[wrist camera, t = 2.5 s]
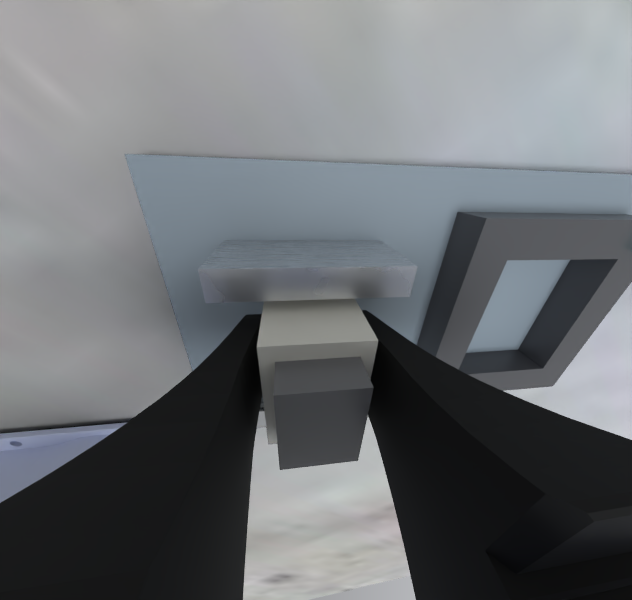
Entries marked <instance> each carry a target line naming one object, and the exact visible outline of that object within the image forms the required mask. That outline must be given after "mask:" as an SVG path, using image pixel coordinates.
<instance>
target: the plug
mask: <svg viewBox="0 0 632 600" xmlns="http://www.w3.org/2000/svg"><path fill="white" fill-rule="evenodd" d="M377 345H378V339H377V337H376V335H375V333H374V332H373V330H372V328H371V326H370V325H369V323H368V321H367V319H366V317H365V316H364V314H363V312H362V310H361V309H360V307H359V305H358V303H357V302H356V300H355V299H326V300H294V301H264V304H263V311H262V317H261V323H260V329H259V336H258V342H257V354H258V362H259V370H260V379H261V387H262V395H263V403H264V412H265V420H266V428H267V436H268V444H277V443H278V454H279V466H280V470H283V469H291V468H300V467H308V466H316V465H325V464H333V463H342V462H350V461H358V457H359V453H360V448H361V444H362V439H363V434H364V430H365V425H366V420H367V416H368V411H369V407H370V402H371V397H372V393H373V388H374V387H373V385H372V383H371V375H372V370H373V365H374V360H375V355H376V350H377Z"/></svg>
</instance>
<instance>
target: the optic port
mask: <svg viewBox="0 0 632 600" xmlns="http://www.w3.org/2000/svg"><path fill="white" fill-rule="evenodd" d="M507 260H570V261H569V263H568V265H567V266H566V268H565V270H564V272H563V273H562V275H561V277H560V278H559V280H558V282H557V283H556V285H555V287H554V289H553V290H552V292H551V294H550V295H549V297H548V299H547V301H546V302H545V304H544V306H543V307H542V309H541V311H540V313H539V314H538V316H537V318H536V319H535V321H534V323H533V325H532V326H531V328H530V330H529V331H528V333H527V335H526V337H525V338H524V340H523V342H522V343H521V345H520V347H519V349H518V350H504V351H488V352H473V353H466V352H467V349H468V347H469V345H470V343H471V341H472V338H473V336H474V334H475V332H476V329H477V327H478V325H479V323H480V320H481V318H482V316H483V314H484V311H485V309H486V307H487V305H488V303H489V300H490V298H491V296H492V294H493V291H494V289H495V287H496V285H497V282H498V280H499V278H500V276H501V274H502V271H503V269H504V267H505V265H506V262H507ZM631 282H632V215H627V214H569V213H504V212H457V215H456V218H455V222H454V225H453V228H452V231H451V235H450V238H449V241H448V244H447V248H446V251H445V254H444V257H443V261H442V264H441V267H440V271H439V274H438V277H437V280H436V284H435V287H434V290H433V293H432V297H431V300H430V303H429V306H428V310H427V313H426V316H425V319H424V323H423V326H422V329H421V333H420V336H419V339H418V342H417V346H419V347H420V348H422V349H423V350H425V351H427V352H428V353H430V354H431V355H433V356H435V357H437V358H438V359H440V360H442V361H443V362H445V363H447V364H449V365H451V366H453V367H455V368H456V369H458V370H460V371H462V372H464V373H466V374H468V375H470V376H472V377H474V378H476V379H478V380H480V381H482V382H484V383H486V384H489V385H491V386H493V387H495V388H497V389H499V390H502V391H504V390H515V389H526V388H538V387H549V386H553V385H554V384H555V383H556V381H557V380H558V379H559V377H560V376H561V375H562V373H563V372H564V371H565V369H566V368H567V367H568V365H569V364H570V363H571V361H572V360H573V359H574V357H575V356H576V355H577V353H578V352H579V351H580V349H581V348H582V347H583V345H584V344H585V343H586V342H587V340H588V339H589V338H590V336H591V335H592V334H593V332H594V331H595V330H596V328H597V327H598V326H599V324H600V323H601V322H602V320H603V319H604V318H605V316H606V315H607V314H608V312H609V311H610V310H611V308H612V307H613V306H614V304H615V303H616V302H617V300H618V299H619V298H620V296H621V295H622V294H623V292H624V291H625V290H626V288H627V287H628V286H629V284H630V283H631Z"/></svg>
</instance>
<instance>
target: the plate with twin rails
mask: <svg viewBox="0 0 632 600" xmlns="http://www.w3.org/2000/svg"><path fill="white" fill-rule="evenodd" d="M417 267H418V266H417V265H415V264H414V263H413V262H411V261H410V260H408V259H407V258H405V257H404V256H402V255H401V254H400V253H398V252H397V251H395V250H394V249H392V248H391V247H389V246H388V245H387V244H385V243H384V242H382V241H381V240H224V241H223V242H222V243H221V244H220V245H219V246H218V248H217V249H216V250H215V251H214V252H213V253H212V254H211V255H210V256H209V257H208V259H207V260H206V261H205V262H204V263H203V264H202V265H201V266H200V267H199V269H198V273H199V277H200V281H201V286H202V290H203V294H204V299H205V303H232V302H263V301H294V300H326V299H357V298H388V297H410V294H411V290H412V286H413V282H414V279H415V275H416V271H417ZM367 417H369V416H367ZM261 427H266V420H265V412H264V403H263V395H262V399H261V405H260V411H259V417H258V422H257V428H261Z"/></svg>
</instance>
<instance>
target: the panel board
mask: <svg viewBox="0 0 632 600" xmlns="http://www.w3.org/2000/svg"><path fill="white" fill-rule="evenodd" d="M125 157H126V160H127V163H128V167H129V170H130V173H131V176H132V179H133V183H134V186H135V189H136V192H137V195H138V198H139V202H140V205H141V208H142V211H143V214H144V218H145V221H146V224H147V227H148V230H149V234H150V237H151V240H152V243H153V246H154V249H155V253H156V256H157V259H158V262H159V265H160V269H161V272H162V275H163V278H164V281H165V285H166V288H167V291H168V294H169V297H170V301H171V304H172V307H173V310H174V313H175V316H176V320H177V323H178V326H179V329H180V332H181V336H182V339H183V342H184V345H185V348H186V352H187V355H188V358H189V361H190V364H191V368H192V371H194V370H195V369H196V368H197V367H198V366H199V365H200V364H201V363H202V362H203V361H204V360H205V359H206V358H207V357H208V356H209V355H210V354H211V353H212V352H213V351H214V350H215V349H216V348H217V347H218V346H219V345H220V343H221V342H222V341H223V340H224V339H225V338H226V337H227V336H228V335H229V333H230V332H231V331H232V330H233V329H234V328H235V327H236V325H237V324H238V323H239V322H240V321H241V319H242V318H243V317H244V316H245V315H249V314H262V311H263V304H264V301H263V302H232V303H205V299H204V294H203V290H202V286H201V281H200V277H199V273H198V269H199V267H200V266H201V265H202V264H203V263H204V262H205V261H206V260H207V259H208V257H209V256H210V255H211V254H212V253H213V252H214V251H215V250H216V249H217V248H218V246H219V245H220V244H221V243H222V242H223V241H224V240H381V241H382V242H384V243H385V244H387V245H388V246H389V247H391V248H392V249H394V250H395V251H397V252H398V253H400V254H401V255H402V256H404V257H405V258H407V259H408V260H410V261H411V262H413V263H414V264H415V265H417V266H418V267H417V271H416V275H415V279H414V282H413V286H412V290H411V294H410V297H388V298H357V299H355V300H356V302H357V303H358V305H359V307H360V309H361V310H367V311H368V312H370V313H371V314H373V315H374V316H376V317H377V318H378V319H380V320H381V321H383V322H384V323H385V324H387V325H388V326H389V327H391V328H392V329H394V330H395V331H396V332H398V333H399V334H401V335H402V336H404V337H405V338H407V339H408V340H410V341H411V342H413V343H414V344H416V345H417V342H418V339H419V336H420V333H421V329H422V326H423V323H424V319H425V316H426V313H427V310H428V306H429V303H430V300H431V297H432V293H433V290H434V287H435V284H436V280H437V277H438V274H439V271H440V267H441V264H442V261H443V257H444V254H445V251H446V248H447V244H448V241H449V238H450V235H451V231H452V228H453V225H454V222H455V218H456V215H457V212H504V213H569V214H627V215H632V174H610V173H585V172H561V171H536V170H511V169H487V168H462V167H437V166H412V165H388V164H363V163H338V162H314V161H289V160H264V159H240V158H215V157H190V156H166V155H141V154H125ZM569 261H570V260H507V262H506V265H505V267H504V269H503V271H502V274H501V276H500V278H499V280H498V282H497V285H496V287H495V289H494V291H493V294H492V296H491V298H490V300H489V303H488V305H487V307H486V309H485V311H484V314H483V316H482V318H481V320H480V323H479V325H478V327H477V329H476V332H475V334H474V336H473V338H472V341H471V343H470V345H469V347H468V349H467V352H466V353H473V352H488V351H504V350H518V349H519V347H520V345H521V343H522V342H523V340H524V338H525V337H526V335H527V333H528V331H529V330H530V328H531V326H532V325H533V323H534V321H535V319H536V318H537V316H538V314H539V313H540V311H541V309H542V307H543V306H544V304H545V302H546V301H547V299H548V297H549V295H550V294H551V292H552V290H553V289H554V287H555V285H556V283H557V282H558V280H559V278H560V277H561V275H562V273H563V272H564V270H565V268H566V266H567V265H568V263H569Z"/></svg>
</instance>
